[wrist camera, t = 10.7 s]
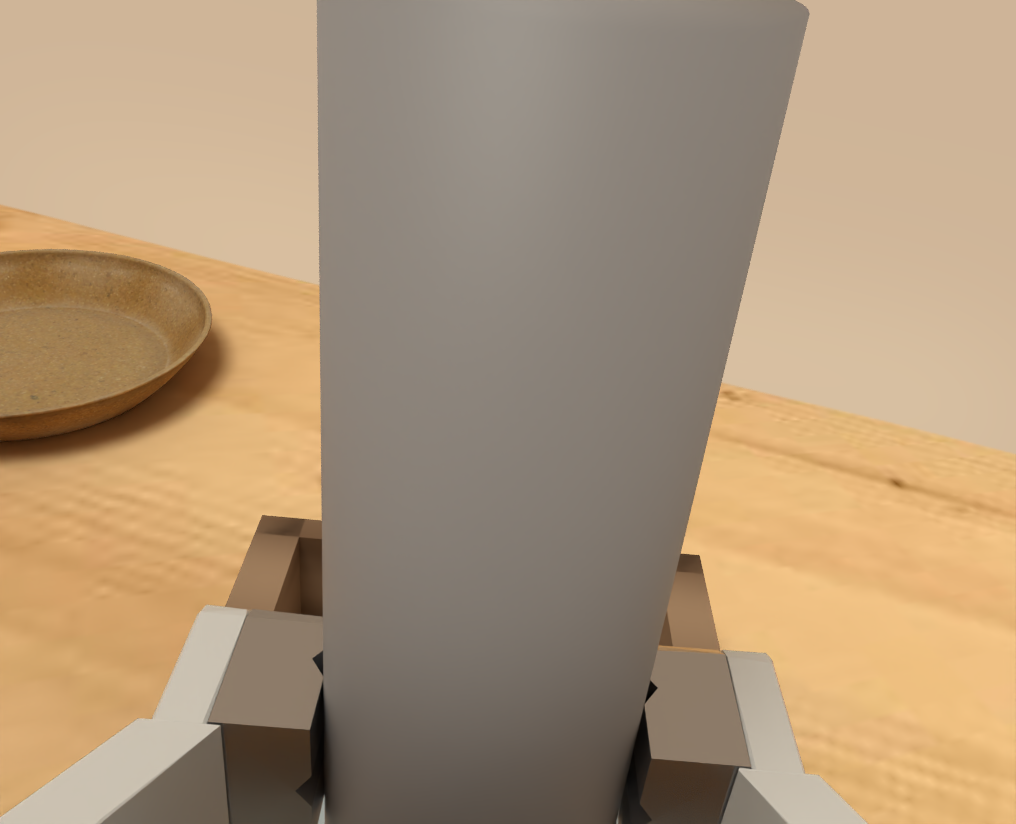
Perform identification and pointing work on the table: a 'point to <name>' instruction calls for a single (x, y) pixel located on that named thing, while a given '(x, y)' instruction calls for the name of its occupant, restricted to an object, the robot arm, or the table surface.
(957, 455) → the table surface
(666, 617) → the bay
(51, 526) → the table surface
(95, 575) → the table surface
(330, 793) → the gray post-topped cube
